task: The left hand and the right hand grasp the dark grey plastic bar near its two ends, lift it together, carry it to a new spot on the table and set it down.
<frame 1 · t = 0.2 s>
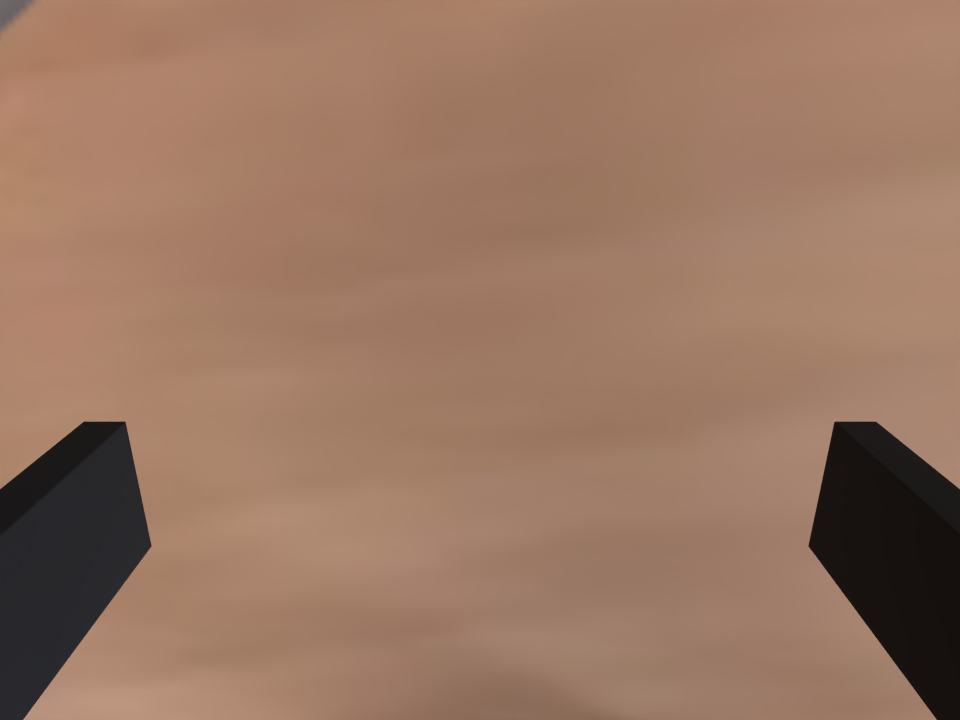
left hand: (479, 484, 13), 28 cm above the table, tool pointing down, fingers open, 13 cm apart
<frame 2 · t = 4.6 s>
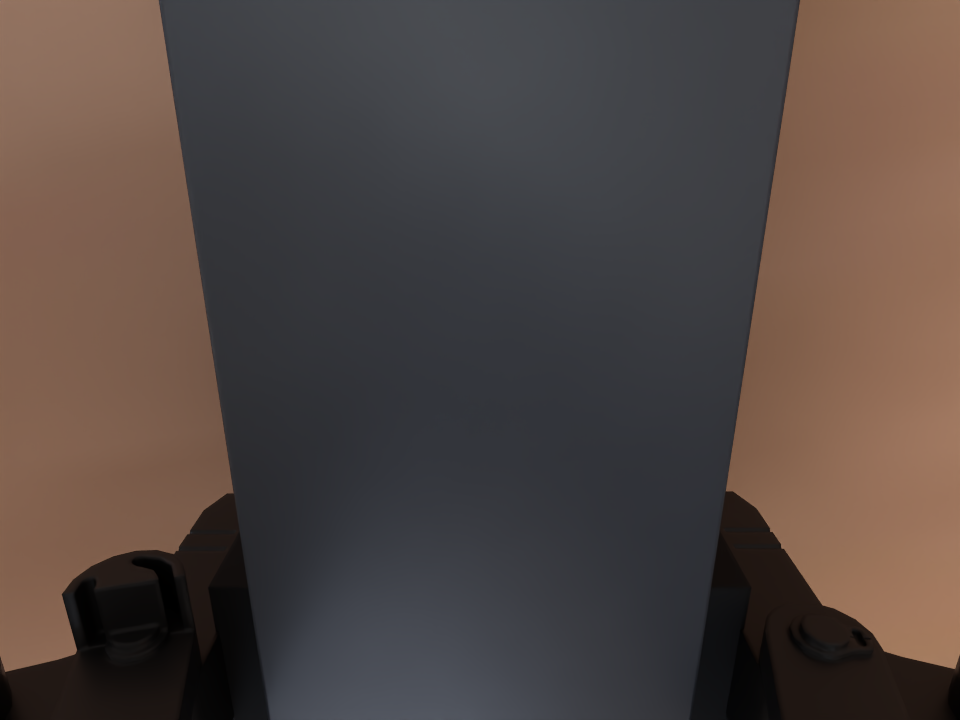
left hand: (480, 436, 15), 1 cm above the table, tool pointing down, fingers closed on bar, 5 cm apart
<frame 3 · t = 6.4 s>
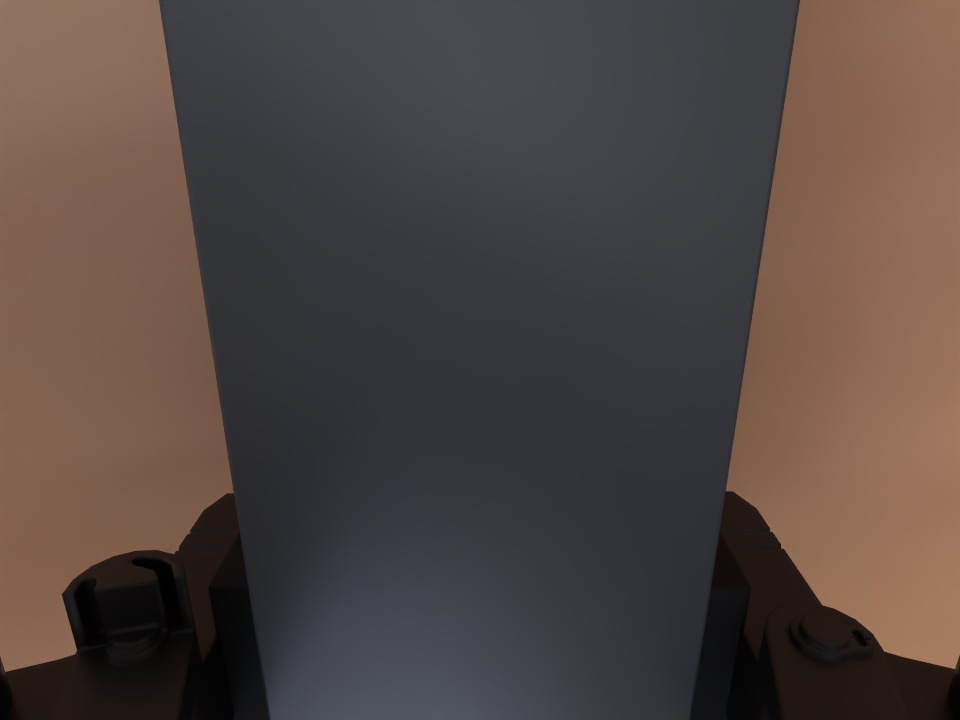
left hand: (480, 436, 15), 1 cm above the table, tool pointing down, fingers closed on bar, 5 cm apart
when the left hand's fingers open (2 cm above the table, at t = 12.4 s): bar drops 2 cm, on the table.
when the right hand's fingers open (5 cm above the table, at t = 12.6 s): bar stays where it is, on the table.
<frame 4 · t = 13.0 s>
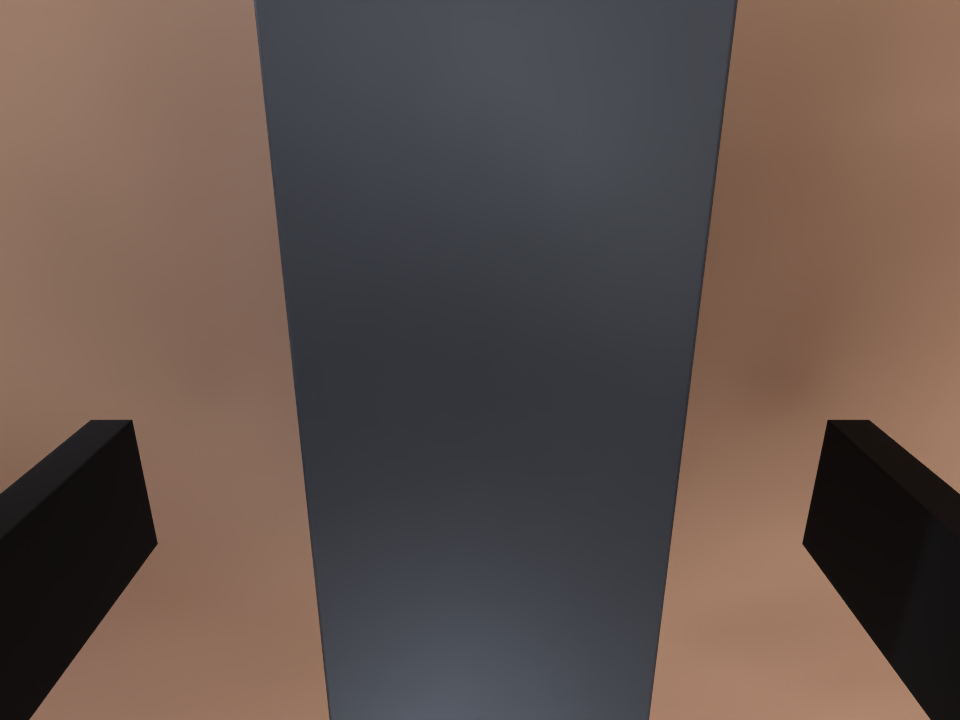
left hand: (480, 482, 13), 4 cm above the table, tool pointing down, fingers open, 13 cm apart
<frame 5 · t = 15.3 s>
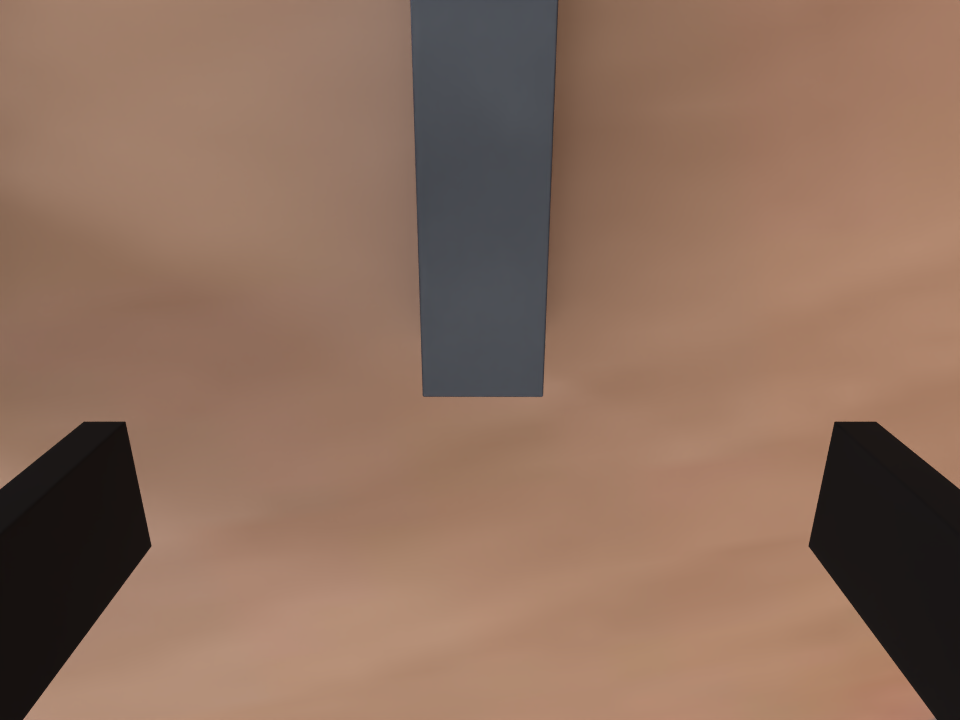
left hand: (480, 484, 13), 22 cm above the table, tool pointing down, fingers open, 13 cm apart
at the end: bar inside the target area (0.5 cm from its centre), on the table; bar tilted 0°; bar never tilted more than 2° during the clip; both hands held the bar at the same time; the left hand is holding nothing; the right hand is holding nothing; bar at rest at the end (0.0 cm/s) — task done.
